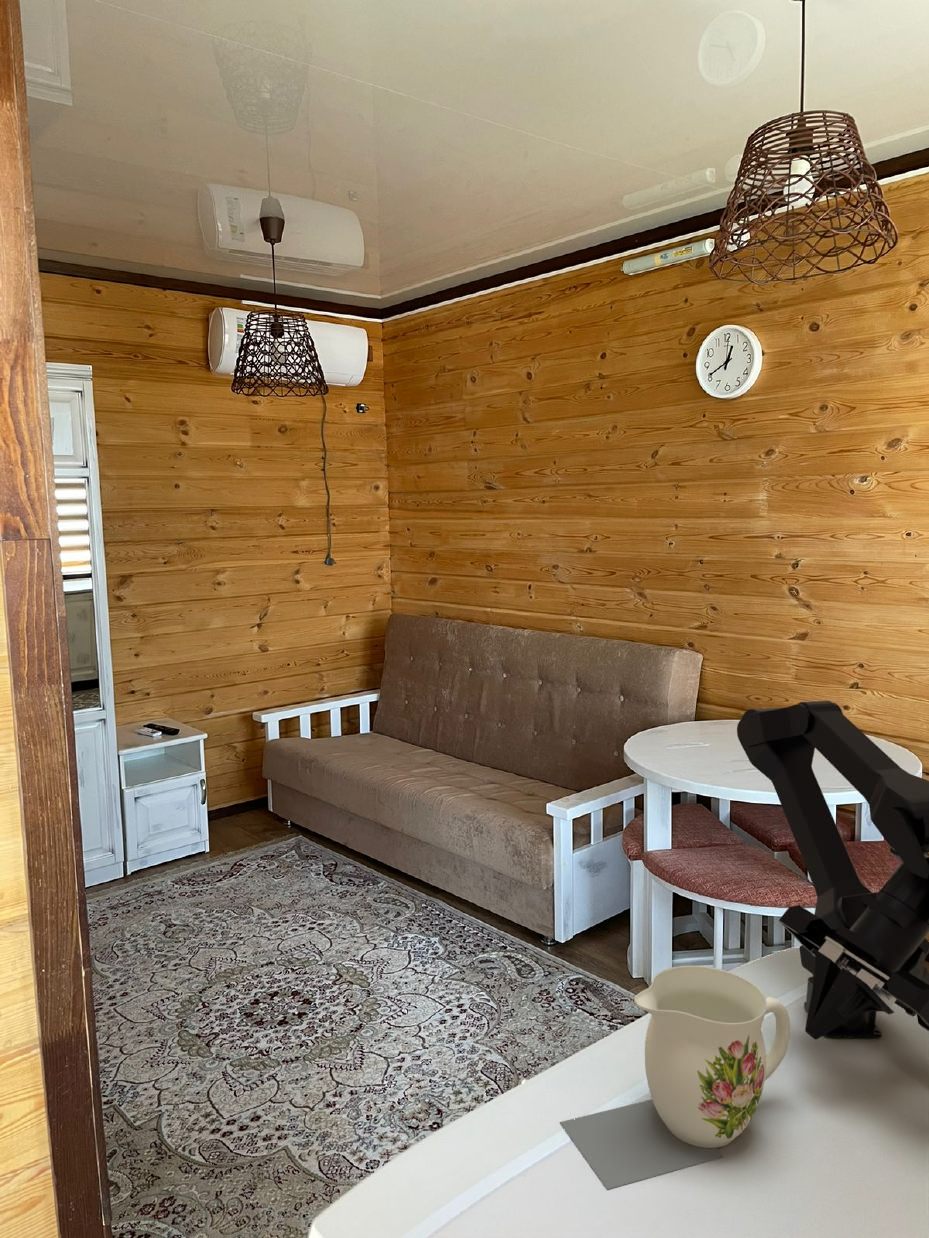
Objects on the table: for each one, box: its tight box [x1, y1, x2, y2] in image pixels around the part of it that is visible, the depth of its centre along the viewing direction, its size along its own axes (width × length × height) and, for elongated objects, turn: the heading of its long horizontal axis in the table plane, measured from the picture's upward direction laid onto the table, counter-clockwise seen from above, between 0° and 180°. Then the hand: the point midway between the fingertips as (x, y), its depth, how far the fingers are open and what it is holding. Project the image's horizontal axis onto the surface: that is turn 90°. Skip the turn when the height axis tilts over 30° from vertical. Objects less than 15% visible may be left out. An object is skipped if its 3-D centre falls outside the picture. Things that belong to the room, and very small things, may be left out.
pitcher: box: [633, 965, 791, 1149], centre depth 86 cm, size 11×18×14 cm, turn 114°
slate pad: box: [559, 1098, 725, 1191], centre depth 85 cm, size 12×9×1 cm
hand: (810, 1035), depth 90 cm, fingers closed
